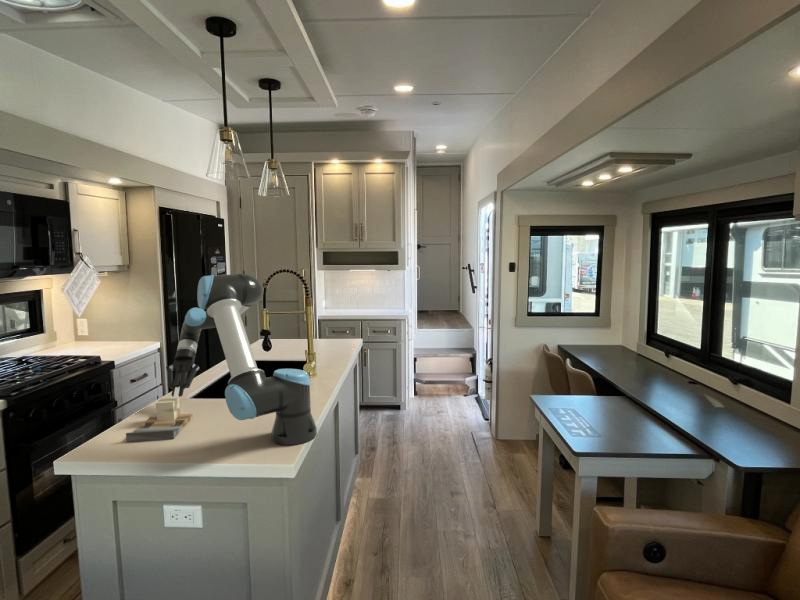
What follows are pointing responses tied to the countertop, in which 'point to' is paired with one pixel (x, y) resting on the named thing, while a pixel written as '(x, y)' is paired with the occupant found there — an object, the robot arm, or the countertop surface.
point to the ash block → (167, 409)
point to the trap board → (158, 429)
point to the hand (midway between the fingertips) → (175, 403)
